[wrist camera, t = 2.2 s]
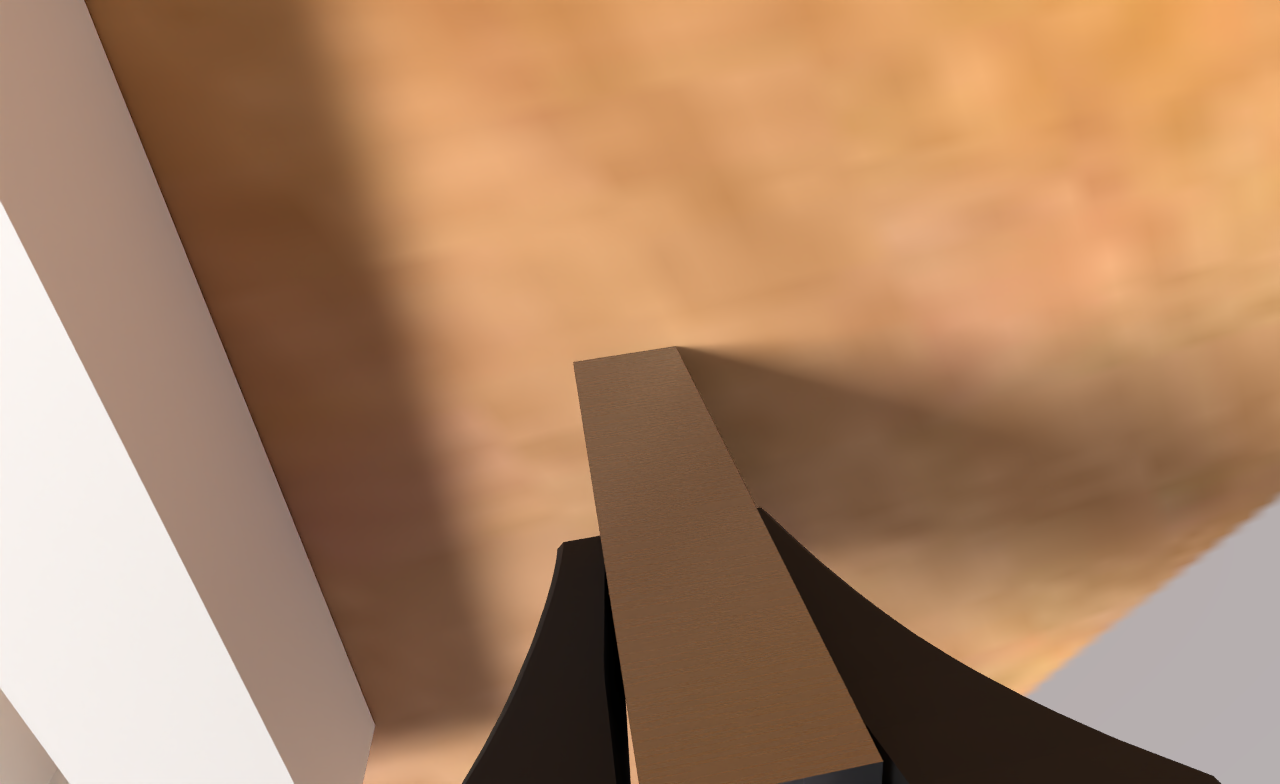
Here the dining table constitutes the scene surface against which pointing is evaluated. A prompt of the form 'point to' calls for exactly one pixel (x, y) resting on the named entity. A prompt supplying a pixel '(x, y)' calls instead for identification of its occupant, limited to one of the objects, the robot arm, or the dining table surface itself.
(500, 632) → the dining table surface
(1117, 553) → the dining table surface
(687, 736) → the gray rectangular block
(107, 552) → the white board with holes
